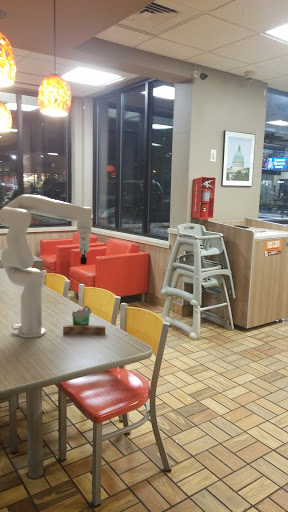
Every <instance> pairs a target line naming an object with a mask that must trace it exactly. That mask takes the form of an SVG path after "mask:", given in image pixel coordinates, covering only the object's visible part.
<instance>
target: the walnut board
mask: <svg viewBox="0 0 288 512" xmlns="http://www.w3.org/2000/svg"><path fill="white" fill-rule="evenodd" d="M62 327H63V328H62V335H63V336H64V335H65V336H67V335H68V336H106V325H90V324H89V325H73V324H63V326H62Z"/></svg>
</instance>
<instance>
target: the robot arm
mask: <svg viewBox="0 0 288 512" xmlns="http://www.w3.org/2000/svg"><path fill="white" fill-rule="evenodd" d="M31 214H34V215H40V216H43V217H49V218H53V219H61V220H62V219H63V220H64V219H65V220H67V221H69V222H76V234H78V247H79V250H78V252H80V265H87V263H88V262H87V261H88V260H87V253H89V252H90V234H92V220H93V219H92V218H93V217H92V208H91V207H89V206H82V205H77V204H72V203H69V202H64V201H61V200H57V199H56V200H55V199H52V198H49V197H45V196H42V195H38V194H20V195H19V196H17V197H16V198H14V199H13V200H12V201H10V202H9V203H7V204H6V205H5V206H3V207H2V208H1V209H0V225H1V226H4V227H6V228H7V227H9V228H8V231H7V233H6V237H5V241H6V247H5V248H3V250H2V251H1V253H0V255H1V256H0V261H1V263H2V267H3V268H4V271H5V273H6V275H7V278H8V280H9V281H10V282H11V283H12V284H13V285H15V286H17V287H18V286H19V287H23V289H22V292H21V295H20V323H19V324H11V328H12V330H13V331H17V336H19V337H21V338H26V339H29V338H31V339H32V338H33V339H34V338H39V337H41V336H44V335H45V333H46V329H45V328H44V327H43V297H42V296H43V289H44V288H43V287H44V283H45V275H44V273H43V272H42V271H41V270H39V269H38V268H34V267H32V266H33V265H34V263H35V260H34V255H33V253H32V251H31V247H30V246H29V243H28V240H27V232H28V229H29V227H30V225H31V224H32V223H31V222H32V215H31Z"/></svg>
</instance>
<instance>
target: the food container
mask: <svg viewBox="0 0 288 512" xmlns="http://www.w3.org/2000/svg"><path fill="white" fill-rule="evenodd" d="M91 310H92V309H91V308H90V307H89V306H88V305H84V307H83V308H79V309H78V310H76V311H72V313H71V316H72V325H90V316H91V314H92V311H91Z"/></svg>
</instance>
